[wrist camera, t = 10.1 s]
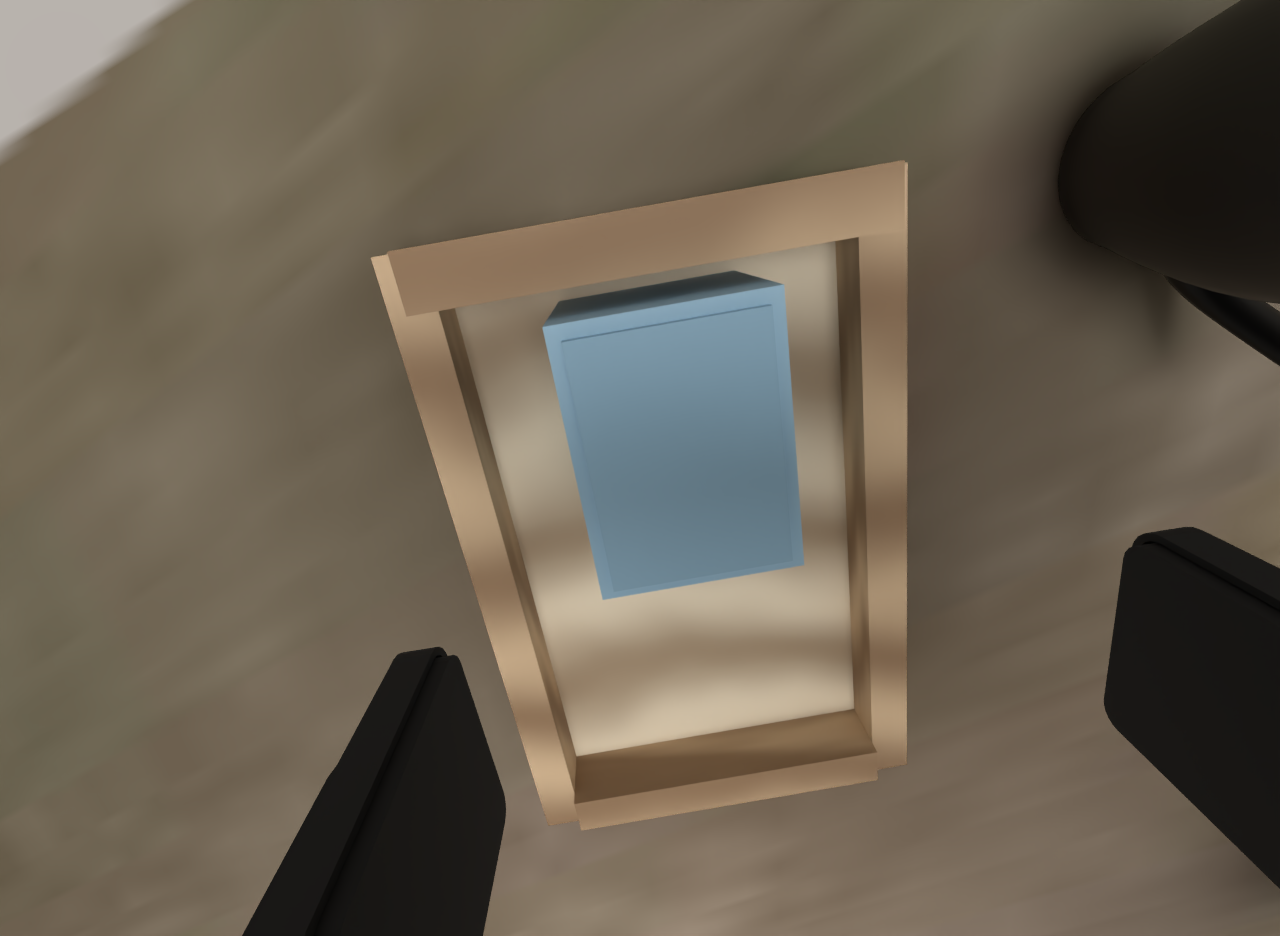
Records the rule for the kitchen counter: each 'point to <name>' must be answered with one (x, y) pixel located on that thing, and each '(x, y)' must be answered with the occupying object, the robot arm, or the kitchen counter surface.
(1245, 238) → the mug
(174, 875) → the kitchen counter surface
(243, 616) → the kitchen counter surface
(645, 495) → the light blue block
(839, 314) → the tray
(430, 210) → the kitchen counter surface
